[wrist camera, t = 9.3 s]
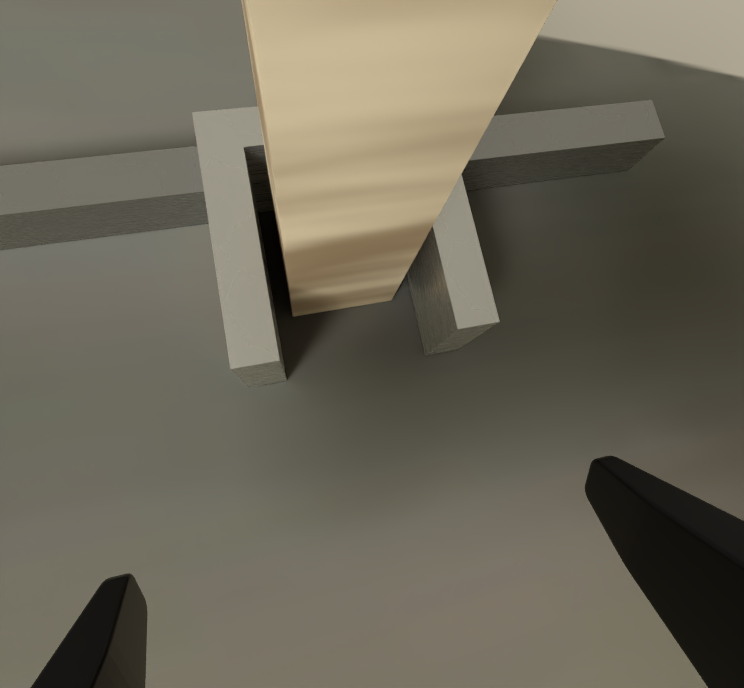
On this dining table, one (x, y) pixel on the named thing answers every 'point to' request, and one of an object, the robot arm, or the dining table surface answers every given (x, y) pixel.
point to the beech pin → (374, 127)
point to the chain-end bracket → (253, 194)
